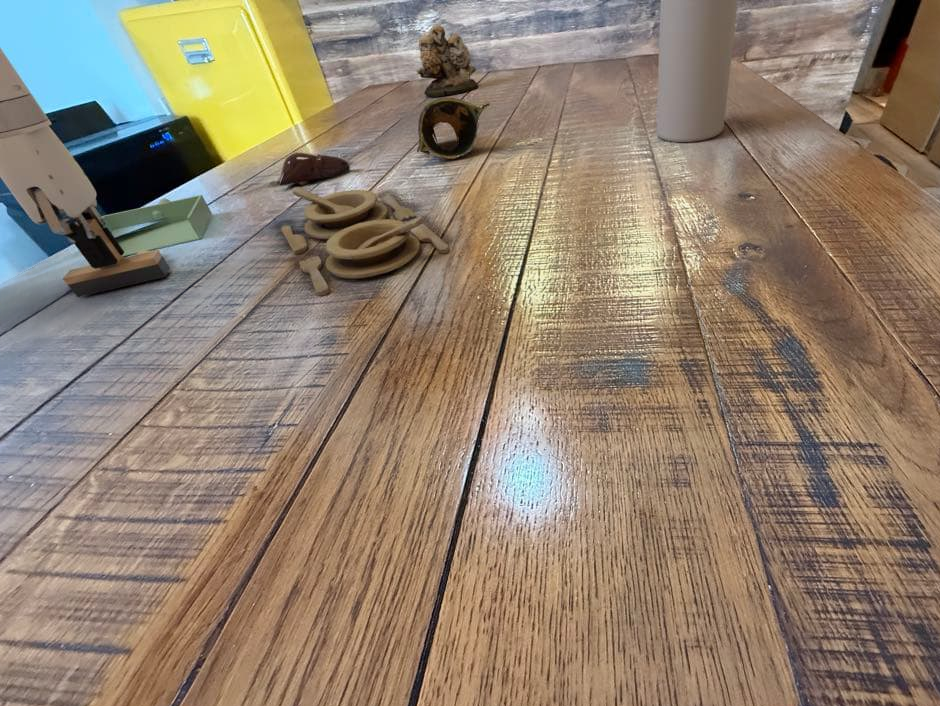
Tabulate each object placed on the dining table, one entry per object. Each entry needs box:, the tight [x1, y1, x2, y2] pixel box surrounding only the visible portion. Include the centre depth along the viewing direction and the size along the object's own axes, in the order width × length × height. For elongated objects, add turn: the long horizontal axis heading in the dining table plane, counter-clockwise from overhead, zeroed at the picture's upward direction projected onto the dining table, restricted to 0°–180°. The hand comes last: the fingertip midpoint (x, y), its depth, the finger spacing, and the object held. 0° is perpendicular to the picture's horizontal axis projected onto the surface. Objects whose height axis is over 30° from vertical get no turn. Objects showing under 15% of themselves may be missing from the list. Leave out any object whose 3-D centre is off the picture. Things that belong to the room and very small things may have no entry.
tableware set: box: [280, 186, 450, 297], centre depth 76 cm, size 30×20×6 cm, turn 30°
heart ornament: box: [279, 151, 351, 187], centre depth 104 cm, size 6×12×11 cm
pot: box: [416, 96, 491, 160], centre depth 106 cm, size 17×11×18 cm
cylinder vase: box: [655, 0, 739, 143], centre depth 91 cm, size 12×12×25 cm
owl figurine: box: [416, 24, 479, 98], centre depth 153 cm, size 18×12×17 cm, turn 115°
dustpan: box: [101, 194, 213, 258], centre depth 91 cm, size 19×17×4 cm
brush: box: [62, 218, 171, 298], centre depth 72 cm, size 12×3×9 cm, turn 108°
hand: (109, 260), depth 73 cm, fingers closed on brush, 2 cm apart
